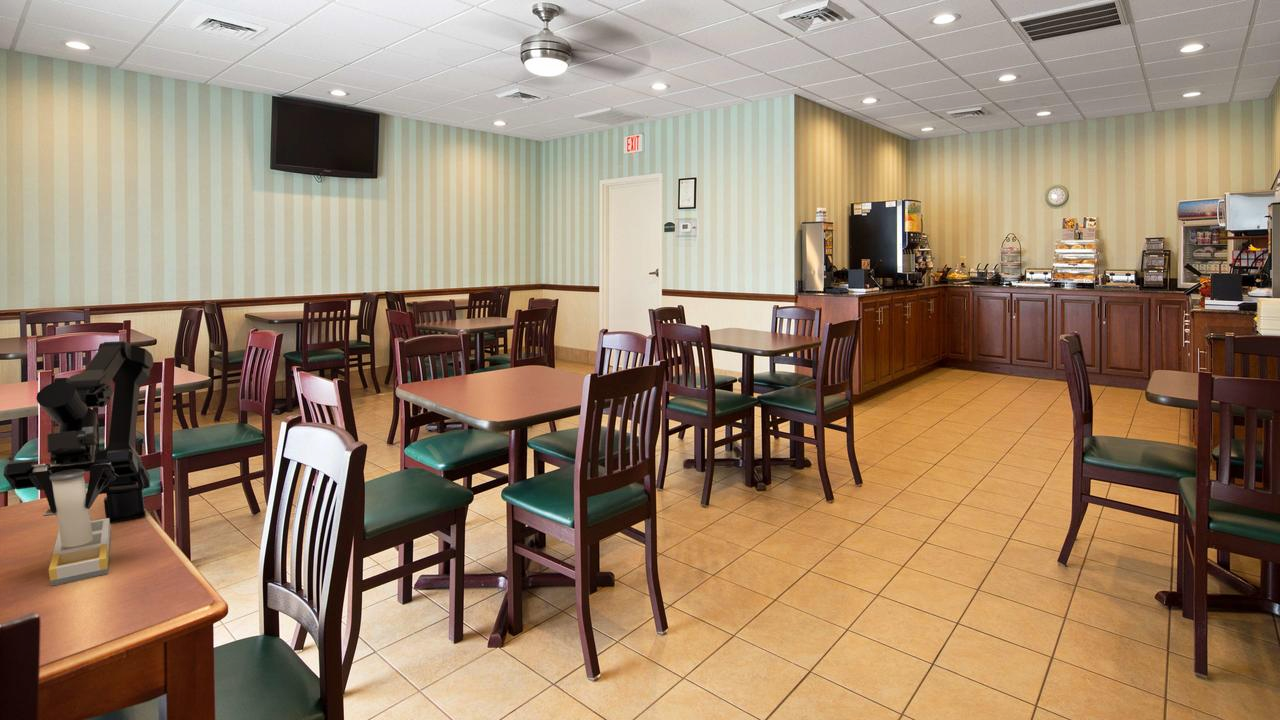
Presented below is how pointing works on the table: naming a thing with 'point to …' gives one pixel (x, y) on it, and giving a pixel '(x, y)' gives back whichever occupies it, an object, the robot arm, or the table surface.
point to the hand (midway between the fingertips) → (70, 510)
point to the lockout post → (71, 507)
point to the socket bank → (82, 556)
